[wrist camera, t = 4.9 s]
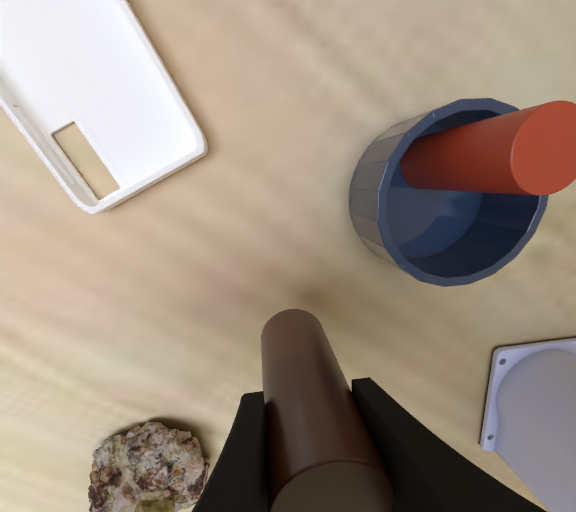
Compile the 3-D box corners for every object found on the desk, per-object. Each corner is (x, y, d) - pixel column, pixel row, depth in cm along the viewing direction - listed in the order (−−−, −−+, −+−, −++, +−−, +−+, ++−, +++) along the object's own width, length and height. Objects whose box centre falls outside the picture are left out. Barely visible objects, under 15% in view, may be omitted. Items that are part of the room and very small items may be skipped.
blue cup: (476, 257, 19) (534, 277, 15) (349, 269, 18) (375, 294, 14) (492, 114, 17) (567, 94, 13) (348, 121, 16) (379, 102, 12)
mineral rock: (104, 421, 17) (216, 504, 16) (150, 379, 21) (239, 444, 21) (33, 536, 19) (132, 612, 18) (88, 477, 23) (169, 537, 23)
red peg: (446, 187, 17) (583, 192, 10) (398, 190, 17) (504, 198, 10) (450, 133, 16) (603, 98, 9) (401, 136, 16) (518, 101, 9)
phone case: (214, 151, 16) (14, -197, 12) (210, 148, 14) (-17, -246, 10) (99, 215, 16) (-138, -104, 12) (85, 218, 15) (-187, -140, 10)
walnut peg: (323, 360, 14) (393, 545, 7) (263, 367, 14) (272, 567, 7) (322, 305, 13) (398, 450, 6) (258, 312, 13) (262, 471, 6)
